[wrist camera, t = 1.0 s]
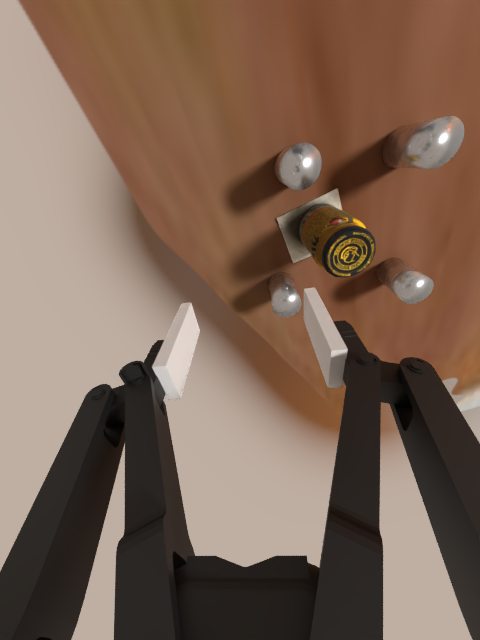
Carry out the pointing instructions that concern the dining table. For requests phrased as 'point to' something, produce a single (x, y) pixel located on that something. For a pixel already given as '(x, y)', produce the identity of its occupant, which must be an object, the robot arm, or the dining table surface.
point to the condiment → (328, 236)
